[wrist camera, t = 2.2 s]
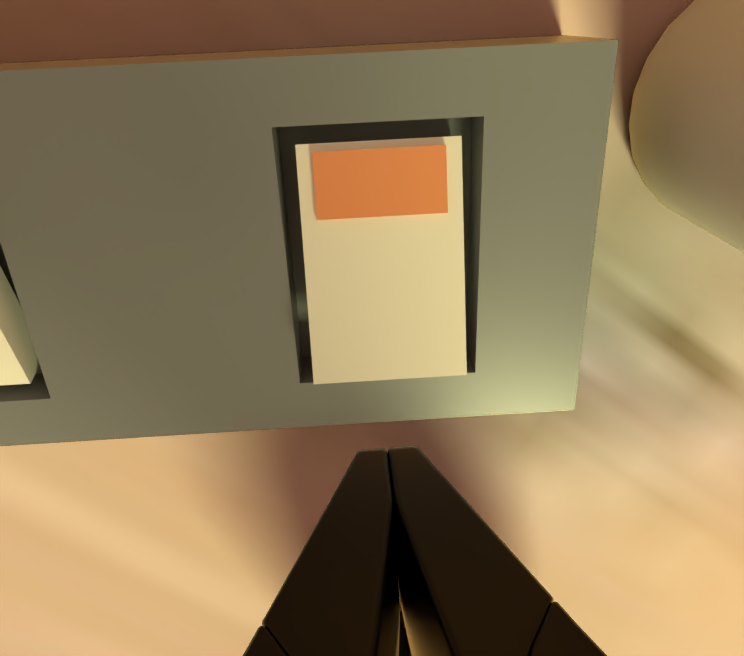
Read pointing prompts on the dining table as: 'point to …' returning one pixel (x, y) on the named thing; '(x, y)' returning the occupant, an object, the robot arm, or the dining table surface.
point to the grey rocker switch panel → (283, 229)
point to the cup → (695, 118)
